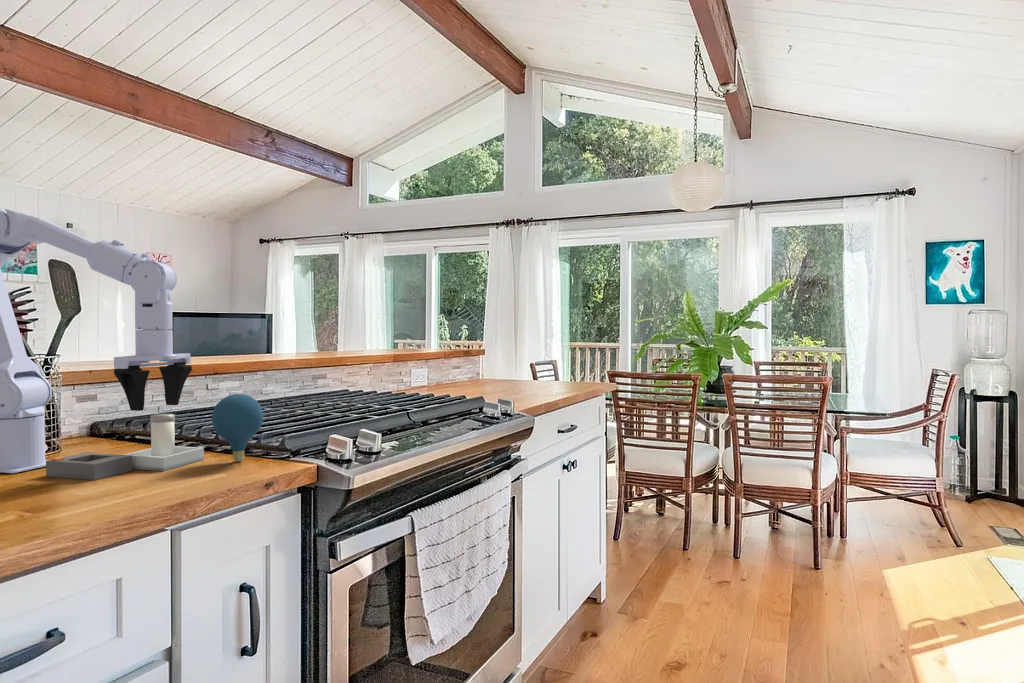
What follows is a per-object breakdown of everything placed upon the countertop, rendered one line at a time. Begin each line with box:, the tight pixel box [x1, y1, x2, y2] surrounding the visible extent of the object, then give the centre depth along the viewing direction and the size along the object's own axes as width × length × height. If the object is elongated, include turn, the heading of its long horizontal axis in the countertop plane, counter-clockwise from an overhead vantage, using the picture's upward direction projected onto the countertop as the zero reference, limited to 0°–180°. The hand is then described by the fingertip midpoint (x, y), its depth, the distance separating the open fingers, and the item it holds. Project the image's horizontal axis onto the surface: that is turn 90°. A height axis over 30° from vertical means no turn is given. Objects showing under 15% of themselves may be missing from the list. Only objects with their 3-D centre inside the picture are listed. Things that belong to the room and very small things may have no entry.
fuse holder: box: [45, 452, 133, 481], centre depth 105 cm, size 10×7×3 cm
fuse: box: [150, 413, 176, 457], centre depth 112 cm, size 4×4×8 cm
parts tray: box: [122, 445, 205, 472], centre depth 112 cm, size 9×9×2 cm
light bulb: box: [211, 393, 264, 463], centre depth 114 cm, size 8×8×12 cm
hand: (155, 407), depth 113 cm, fingers open, 7 cm apart
